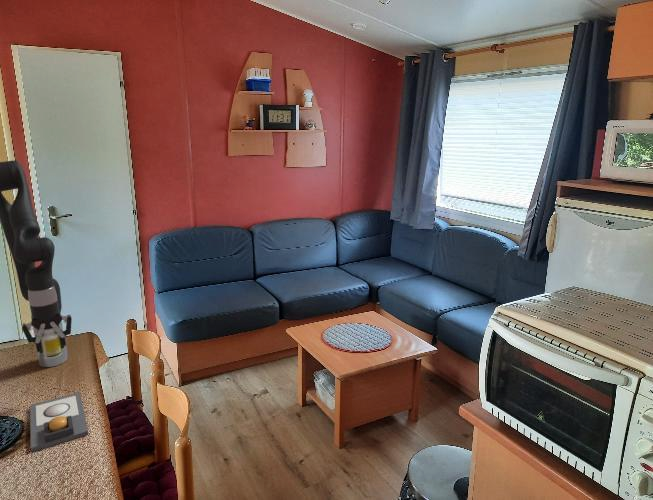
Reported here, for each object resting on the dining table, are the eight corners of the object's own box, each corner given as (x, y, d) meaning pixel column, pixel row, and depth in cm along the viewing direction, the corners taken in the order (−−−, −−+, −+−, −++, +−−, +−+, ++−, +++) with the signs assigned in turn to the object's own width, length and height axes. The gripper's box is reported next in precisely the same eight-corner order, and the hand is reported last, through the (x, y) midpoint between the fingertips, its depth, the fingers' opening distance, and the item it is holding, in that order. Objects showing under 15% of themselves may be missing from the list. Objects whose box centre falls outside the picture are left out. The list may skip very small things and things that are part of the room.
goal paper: (35, 406, 145) (35, 405, 144) (75, 396, 150) (75, 395, 150) (36, 426, 135) (36, 425, 135) (78, 414, 140) (78, 413, 140)
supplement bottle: (66, 352, 151) (61, 325, 149) (52, 360, 146) (47, 332, 144) (53, 350, 153) (48, 323, 150) (39, 358, 148) (34, 329, 145)
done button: (49, 425, 133) (48, 419, 132) (66, 420, 135) (65, 414, 135) (50, 434, 129) (48, 427, 129) (67, 428, 132) (66, 422, 131)
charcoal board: (30, 408, 146) (29, 399, 145) (80, 395, 153) (79, 386, 152) (31, 451, 126) (29, 441, 125) (88, 434, 133) (87, 424, 132)
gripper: (16, 309, 138) (26, 360, 142) (70, 299, 145) (78, 348, 150) (16, 301, 144) (25, 351, 148) (68, 292, 152) (75, 339, 156)
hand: (52, 349), depth 149 cm, fingers closed on supplement bottle, 5 cm apart
